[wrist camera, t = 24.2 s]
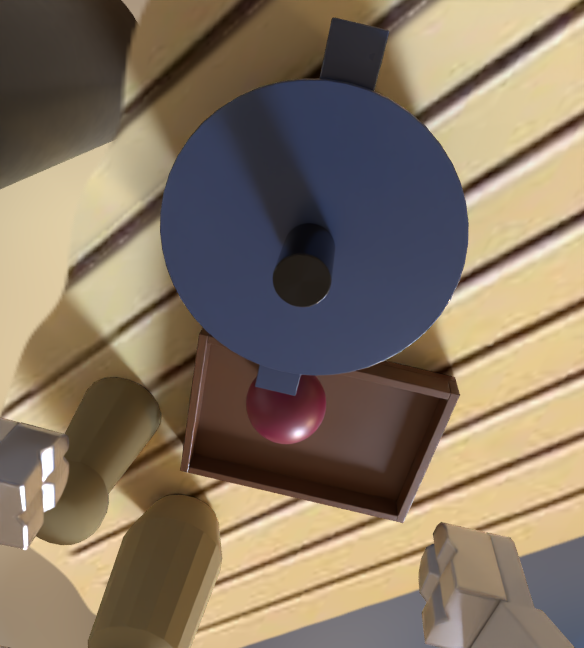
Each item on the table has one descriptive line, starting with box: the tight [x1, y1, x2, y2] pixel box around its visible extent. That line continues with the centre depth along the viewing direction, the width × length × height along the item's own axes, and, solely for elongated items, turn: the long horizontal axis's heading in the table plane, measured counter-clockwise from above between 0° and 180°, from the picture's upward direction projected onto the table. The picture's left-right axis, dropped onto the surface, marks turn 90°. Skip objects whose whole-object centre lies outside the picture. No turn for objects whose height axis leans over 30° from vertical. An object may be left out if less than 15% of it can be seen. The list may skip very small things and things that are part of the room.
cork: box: [36, 377, 161, 545], centre depth 36 cm, size 6×6×11 cm
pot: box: [255, 18, 389, 396], centre depth 29 cm, size 13×19×7 cm
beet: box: [246, 375, 326, 444], centre depth 35 cm, size 5×5×6 cm
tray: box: [180, 328, 460, 523], centre depth 38 cm, size 17×12×2 cm
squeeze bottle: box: [88, 495, 222, 648], centre depth 38 cm, size 8×8×18 cm
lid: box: [160, 79, 469, 375], centre depth 24 cm, size 14×14×5 cm
